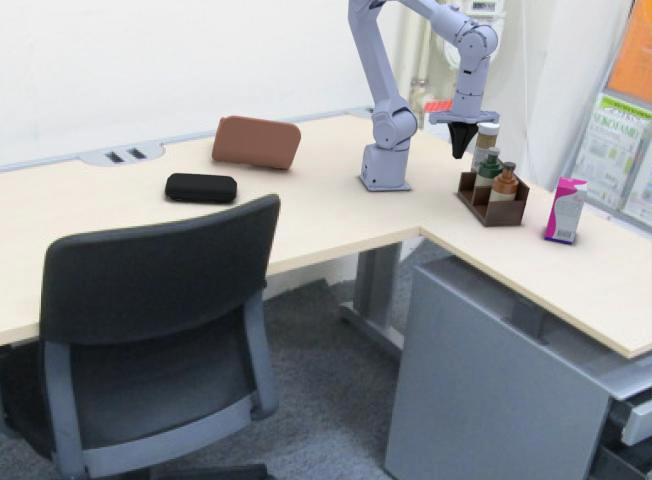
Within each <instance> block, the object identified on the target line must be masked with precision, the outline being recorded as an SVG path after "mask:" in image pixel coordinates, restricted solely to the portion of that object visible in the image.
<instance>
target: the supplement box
mask: <svg viewBox="0 0 652 480" xmlns="http://www.w3.org/2000/svg"><path fill="white" fill-rule="evenodd" d="M588 188H589V181H587V180H581V179H578V178H577V179H576V178H569V177H564V176H560V177H559V178H558V183H557V186H556V190H555V193H554V198H553V201H552V206H551V209H550V213H549V217H548V220H547V224H546V229H545V233H544V237H543V239H544V240H547V241H553V242H557V243H561V244H562V243H563V244H567V245H573V244H574V240H575V237H576V234H577V230H578V226H579V223H580V219H581V215H582V211H583V208H584V204H585V201H586V197H587V195H588V194H587V193H588Z"/></svg>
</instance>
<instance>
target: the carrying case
mask: <svg viewBox="0 0 652 480" xmlns="http://www.w3.org/2000/svg"><path fill="white" fill-rule="evenodd" d="M164 194H165V195H166V196H167V198H168V199H170V200H173V201H185V202H200V203H219V204H220V203H221V204H228V203H229V204H230V203H232V202H233V201H234V200H235V199H236V198H237V196H238V195H237V194H238V182H237V181H236V180H235V178H234V177H233V176H230V175H224V174H223V175H222V174H207V173H185V172H173V173H172V174H170V176H168V177H167V179H166V183H165V187H164Z"/></svg>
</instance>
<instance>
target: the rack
mask: <svg viewBox="0 0 652 480" xmlns="http://www.w3.org/2000/svg"><path fill="white" fill-rule="evenodd" d="M498 161H499V162H500V164H501V165H502V166H503V165H504V162H503V161H502V160H501V159H500V158H499V157H498ZM502 173H503V168H502ZM476 175H477V172H470V171H461V173H460V178H459V182H458V188H457V192H456V196H458V197H459V199H460V200H461V201H462V202H463V203H464V204H465V205H466V206H467V208H468V209H469V210H470V211H471V212H472V213H473V214H474V216H475V217H476V218H477V219H478V220H479V222H481V224H482V225H483V226H484V227H508V226H509V227H510V226H521V225H522V221H523V218H524V214H525V210H526V206H527V201H528V197H529V195H530V194H529V193H530V190H531V188H530V186H528V184H526V183H525V182H524V181H523V180H522V179H521V178H520V177H519V176H518V175H517V174H516V173H515V172H514V174H513V175H514V176H515V177H516V180H518V182H519V183H518V187H517V191H516V196H515V200H514V201H489V198H490V193H491V189H492V186H475V187H474V184H475V180H476ZM473 190H474V192H473ZM488 203H489V204H488ZM487 207H488V208H487Z"/></svg>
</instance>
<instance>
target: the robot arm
mask: <svg viewBox="0 0 652 480" xmlns="http://www.w3.org/2000/svg"><path fill="white" fill-rule="evenodd" d="M395 1H397V2H399V3H400V4H402V5H403V6H405V7H406V8H408V9H410V10H412V11H413V12H415V13H416V14H418V15H420V16H421V17H422V18H425V19H426V20H427V21H429V25H430V29H431V31H432V32H433V33H435V34H436V35H438V36H439V37H440V38H442V39H443V40H445V42H447V43H449V44H450V45H452V46H453V47H454V48H455V49H457V53H458V55H459V57H460V58H459V59H460V60H459V65H458V70H457V76H456V82H455V87H454V93H453V99H452V104H451V108H450V109H445V110H439V111H430V112H429V116H428V122H429V124H430V125H431V126H432V125H433V126H435V125H437V124H446V125H447V128H448V131H449V136H450V139H451V140H450V141H451V156H452V157H453V159H455V160H462V159H463V157H464V155H465V152H466V150H467V148H468V146H469V145H470V143H471V141H472V140H473V138H475V136H476V135H478V130H479V125H478V124H479V123H493V124H499V122H500V117H501V114H500V113H499V112H497V111H496V110H495V111H492V110H483V109H482V103H483V99H484V93H485V88H486V84H487V78H488V73H489V67H490V62H491V55H492V54H493V53H495V51H496V50H497V47H498V45H499V36H498V33H497V31H496V30H495V29H494V28H493V27H492V25H491V24H488V23H483V24H479V23H480V22H479V20H478V19H476V18H471V17H469V16H468V15H466V14H465V13H464V12H462V11H461V10H460V8H461V6H459V5H458V4H457V3H453V4H451V3H443V4H440V3H438V2H437V1H436V0H348V3H347V5H348V6H347V21H348V25H349V28H350V32H351V34H352V38H353V41H354V44H355V47H356V50H357V52H358V57H359V59H360V63H361V65H362V69H363V71H364V75H365V78H366V81H367V84H368V87H369V91H370V93H371V97H372V99H373V103H374V105H373V106H374V107H373V110H372V113H371V115H370V117H371V118H370V119H371V121H372V136H373V140H374V141H375V142H374V143H371V144H366V145H365V146H364V148H363V153H362V154H363V155H362V161H361V162H362V163H361V170H360V174H359V178H360V180H361V182H362V183H363V184H364V186H365V188H366V189H367V190H368V191H370V192H374V191H375V192H377V191H378V192H380V191H381V192H382V191H409V190H411V186H409V185H408V183H407V182H406V180H405V179H406V174H407V167H408V161H409V155H410V149H411V142H412V141H411V140H412V137H414V136H415V135H416V134H417V131H418V130H419V120H418V117H417V115H416V113H414V111H413V110H412V109H411V106H410V105H409V102H408V100H407V99H405V98H404V97H403V96H401V95H400V92H399V88H398V85H397V82H396V80H395V76H394V73H393V70H392V67H391V64H390V60H389V57H388V54H387V51H386V47H385V44H384V41H383V38H382V35H381V31H380V28H379V25H378V22H377V19H378V17H379V15H380V12H381V11H382V9H383V6H384V5H385V4H386V3H387V2H395Z"/></svg>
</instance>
